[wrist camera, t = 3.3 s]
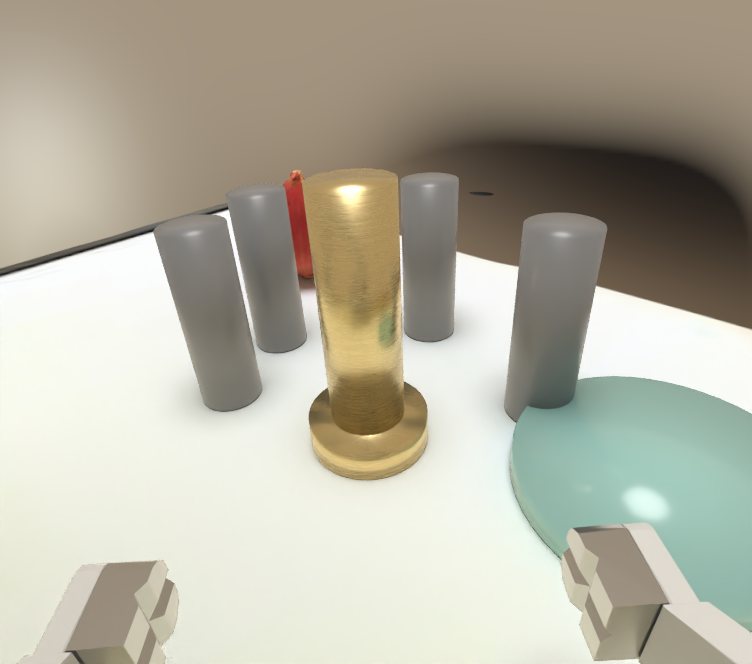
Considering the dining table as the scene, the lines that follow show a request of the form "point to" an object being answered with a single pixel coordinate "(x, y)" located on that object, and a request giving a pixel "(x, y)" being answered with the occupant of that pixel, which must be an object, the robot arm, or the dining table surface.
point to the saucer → (646, 477)
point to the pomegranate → (299, 224)
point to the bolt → (361, 327)
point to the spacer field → (420, 289)
